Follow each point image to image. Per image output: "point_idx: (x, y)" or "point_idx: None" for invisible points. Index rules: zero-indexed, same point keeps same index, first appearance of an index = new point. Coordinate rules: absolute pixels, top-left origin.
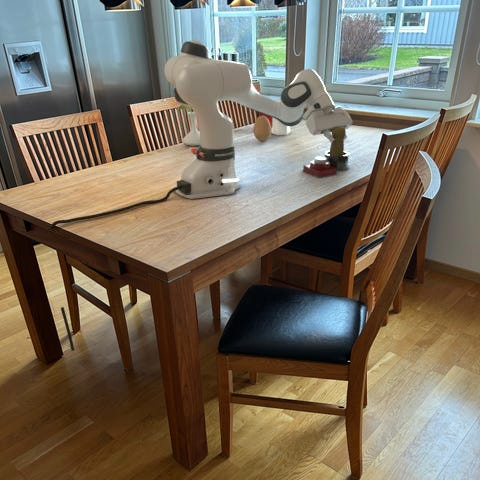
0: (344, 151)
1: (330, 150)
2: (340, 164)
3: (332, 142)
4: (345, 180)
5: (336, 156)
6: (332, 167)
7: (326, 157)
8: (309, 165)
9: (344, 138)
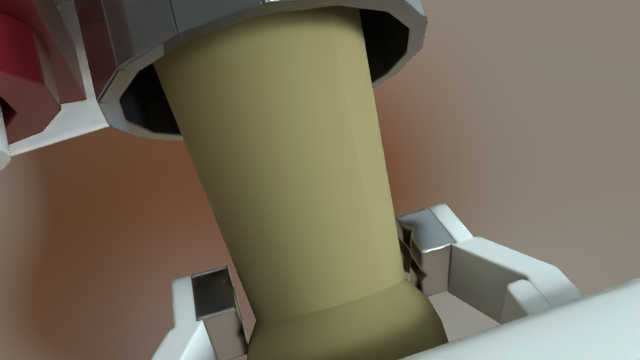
0: (411, 54)
1: (190, 136)
2: None
3: (230, 251)
4: (66, 119)
5: (169, 138)
6: (61, 85)
7: (89, 68)
8: None
9: (402, 243)
